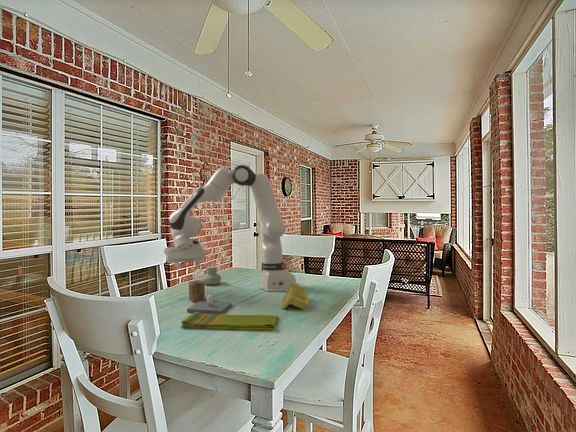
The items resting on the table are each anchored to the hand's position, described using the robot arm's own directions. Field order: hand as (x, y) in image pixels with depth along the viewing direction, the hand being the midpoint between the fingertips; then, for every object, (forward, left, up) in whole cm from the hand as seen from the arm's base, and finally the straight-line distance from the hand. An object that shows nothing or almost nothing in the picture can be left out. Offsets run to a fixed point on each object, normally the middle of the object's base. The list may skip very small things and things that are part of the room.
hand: (189, 267), depth 174 cm
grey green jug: (-2, -24, -15) cm, 28 cm away
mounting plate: (-20, +20, -14) cm, 32 cm away
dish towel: (-35, +35, -15) cm, 52 cm away
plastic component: (-57, +6, -15) cm, 59 cm away
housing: (-8, +8, -14) cm, 18 cm away
